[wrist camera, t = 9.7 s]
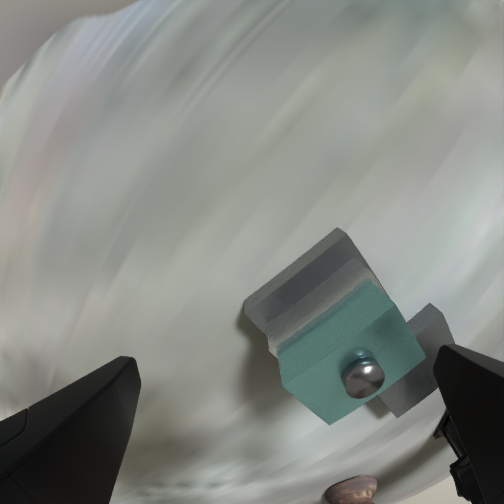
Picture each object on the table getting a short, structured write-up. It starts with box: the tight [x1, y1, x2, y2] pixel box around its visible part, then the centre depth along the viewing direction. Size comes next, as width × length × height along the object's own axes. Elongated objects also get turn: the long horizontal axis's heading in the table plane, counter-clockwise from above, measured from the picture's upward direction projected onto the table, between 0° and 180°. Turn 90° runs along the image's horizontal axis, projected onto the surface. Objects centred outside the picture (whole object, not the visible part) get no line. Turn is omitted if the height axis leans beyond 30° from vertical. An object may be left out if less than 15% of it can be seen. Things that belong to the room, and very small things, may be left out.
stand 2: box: [378, 303, 455, 418], centre depth 21 cm, size 8×8×2 cm
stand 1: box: [244, 227, 389, 338], centre depth 20 cm, size 8×8×2 cm
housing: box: [266, 257, 426, 425], centre depth 15 cm, size 7×5×7 cm
